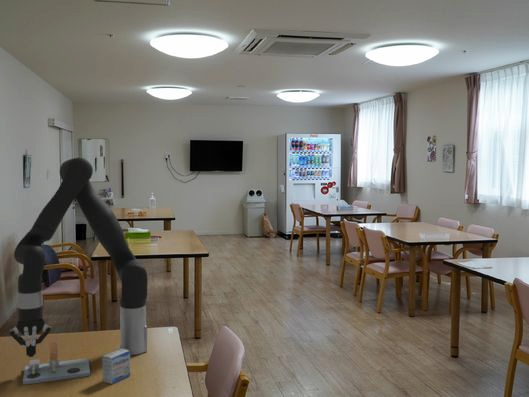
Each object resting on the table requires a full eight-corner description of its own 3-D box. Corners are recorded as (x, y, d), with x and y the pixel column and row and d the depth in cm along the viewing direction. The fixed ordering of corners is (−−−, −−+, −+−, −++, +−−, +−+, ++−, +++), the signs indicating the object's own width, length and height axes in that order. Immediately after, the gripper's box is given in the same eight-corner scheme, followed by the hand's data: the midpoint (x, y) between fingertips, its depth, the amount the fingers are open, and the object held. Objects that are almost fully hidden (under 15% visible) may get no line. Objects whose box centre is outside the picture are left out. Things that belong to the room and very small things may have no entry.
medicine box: (111, 385, 162) (111, 358, 161) (102, 381, 164) (101, 355, 164) (130, 376, 169) (130, 350, 168) (121, 372, 171) (120, 347, 170)
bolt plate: (88, 361, 179) (88, 356, 179) (90, 375, 168) (89, 369, 168) (25, 369, 172) (25, 363, 172) (22, 384, 161) (22, 378, 161)
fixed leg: (39, 366, 171) (39, 359, 171) (38, 374, 165) (38, 367, 165) (29, 367, 170) (29, 360, 170) (28, 376, 164) (28, 368, 164)
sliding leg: (59, 363, 173) (58, 338, 173) (58, 371, 167) (58, 345, 166) (49, 364, 172) (48, 339, 172) (48, 373, 166) (48, 346, 165)
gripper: (52, 299, 173) (53, 349, 174) (8, 303, 168) (10, 354, 169) (51, 306, 166) (52, 358, 167) (6, 309, 161) (7, 363, 162)
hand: (31, 356), depth 168 cm, fingers closed
